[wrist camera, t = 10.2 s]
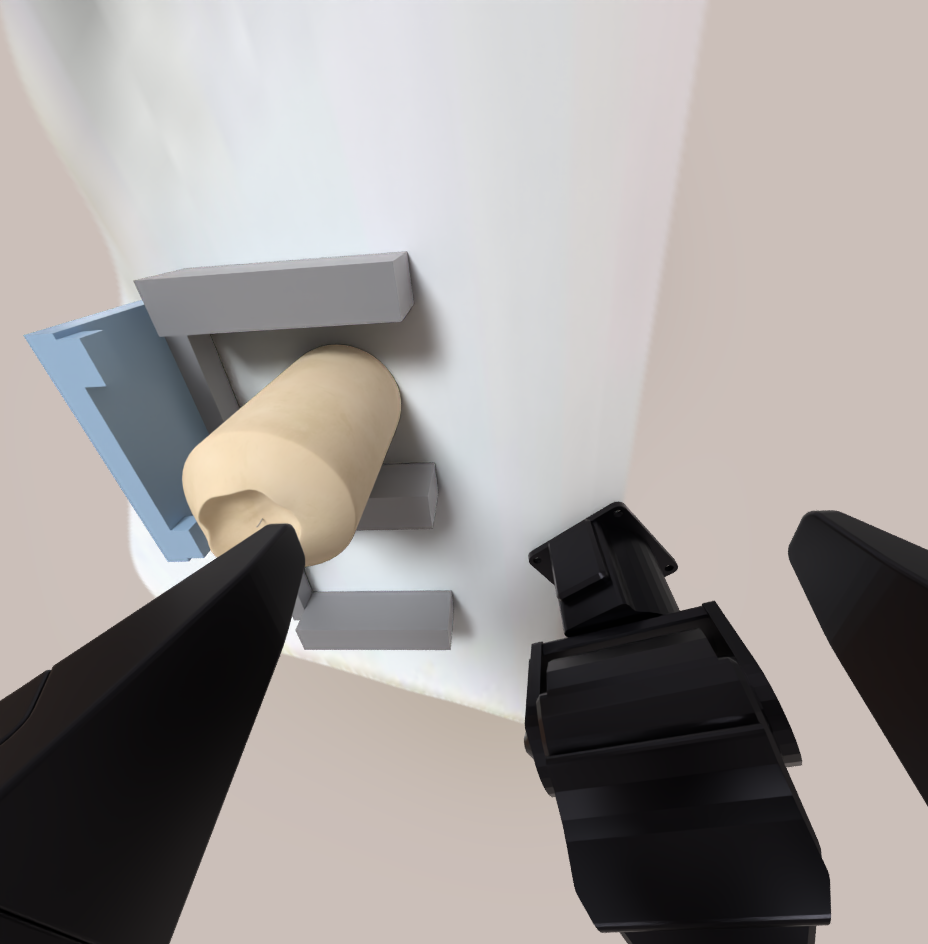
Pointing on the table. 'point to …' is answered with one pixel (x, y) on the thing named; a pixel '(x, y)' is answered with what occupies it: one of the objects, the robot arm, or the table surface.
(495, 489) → the table surface
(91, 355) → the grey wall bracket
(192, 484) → the candle
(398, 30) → the table surface
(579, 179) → the table surface
